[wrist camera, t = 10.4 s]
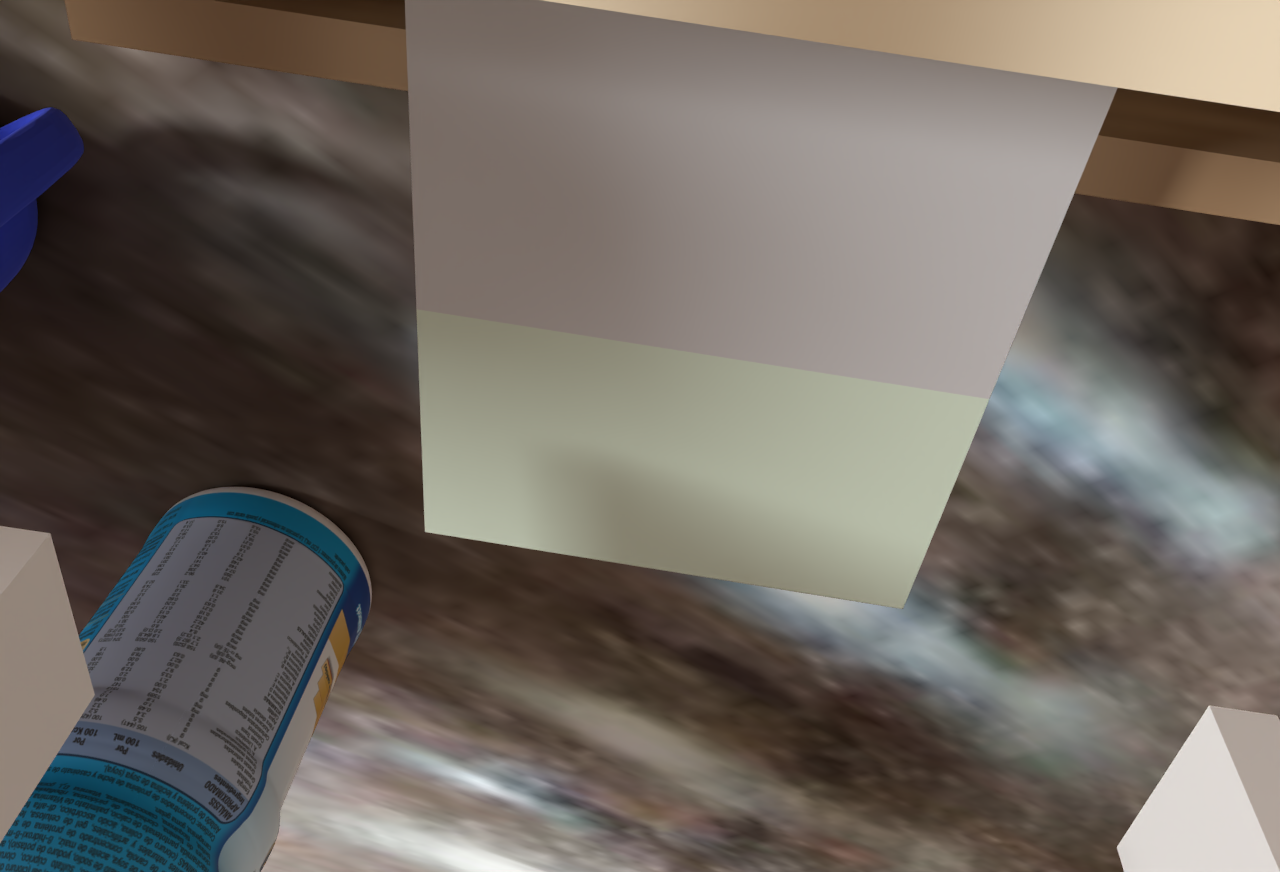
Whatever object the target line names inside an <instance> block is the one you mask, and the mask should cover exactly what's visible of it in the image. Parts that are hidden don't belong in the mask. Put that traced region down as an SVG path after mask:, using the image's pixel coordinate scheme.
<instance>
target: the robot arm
mask: <svg viewBox="0 0 1280 872" xmlns="http://www.w3.org/2000/svg"><path fill="white" fill-rule="evenodd" d="M94 695H95V693H94V690H93V686H92V683H91V679H90V675H89V672H88V668H87V664H86V661H85V657H84V654H83V650H82V646H81V643H80V639H79V635H78V632H77V628H76V625H75V621H74V617H73V614H72V610H71V606H70V603H69V599H68V596H67V592H66V588H65V585H64V581H63V577H62V574H61V570H60V566H59V563H58V559H57V556H56V552H55V548H54V545H53V541H52V537H51V534H50V533H45V532H38V531H31V530H25V529H18V528H11V527H4V526H0V843H1V841H2V840H3V838H4V836H5V835H6V833H7V832H8V830H9V829H10V827H11V825H12V824H13V822H14V821H15V819H16V818H17V816H18V814H19V813H20V811H21V810H22V808H23V807H24V805H25V804H26V802H27V800H28V799H29V797H30V796H31V794H32V793H33V791H34V789H35V788H36V786H37V785H38V783H39V782H40V780H41V778H42V777H43V775H44V774H45V772H46V771H47V769H48V767H49V766H50V764H51V763H52V761H53V760H54V758H55V757H56V755H57V753H58V752H59V750H60V749H61V747H62V746H63V744H64V742H65V741H66V739H67V738H68V736H69V735H70V733H71V731H72V730H73V728H74V727H75V725H76V724H77V722H78V721H79V719H80V717H81V716H82V714H83V713H84V711H85V710H86V708H87V706H88V705H89V703H90V702H91V700H92V699H93V697H94ZM1117 850H1118V853H1119V856H1120V860H1121V863H1122V866H1123V870H1124V872H1280V720H1279V718H1278V716H1277V715H1271V714H1264V713H1257V712H1251V711H1244V710H1237V709H1230V708H1224V707H1217V706H1210V705H1209V706H1208V708H1207V709H1206V711H1205V713H1204V714H1203V716H1202V717H1201V719H1200V720H1199V722H1198V723H1197V725H1196V726H1195V728H1194V729H1193V731H1192V732H1191V734H1190V736H1189V737H1188V739H1187V740H1186V742H1185V743H1184V745H1183V746H1182V748H1181V749H1180V751H1179V752H1178V754H1177V756H1176V757H1175V759H1174V760H1173V762H1172V763H1171V765H1170V766H1169V768H1168V769H1167V771H1166V772H1165V774H1164V775H1163V777H1162V779H1161V780H1160V782H1159V783H1158V785H1157V786H1156V788H1155V789H1154V791H1153V792H1152V794H1151V795H1150V797H1149V799H1148V800H1147V802H1146V803H1145V805H1144V806H1143V808H1142V809H1141V811H1140V812H1139V814H1138V815H1137V817H1136V818H1135V820H1134V822H1133V823H1132V825H1131V826H1130V828H1129V829H1128V831H1127V832H1126V834H1125V835H1124V837H1123V838H1122V840H1121V842H1120V843H1119V845H1118V846H1117Z"/></svg>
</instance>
